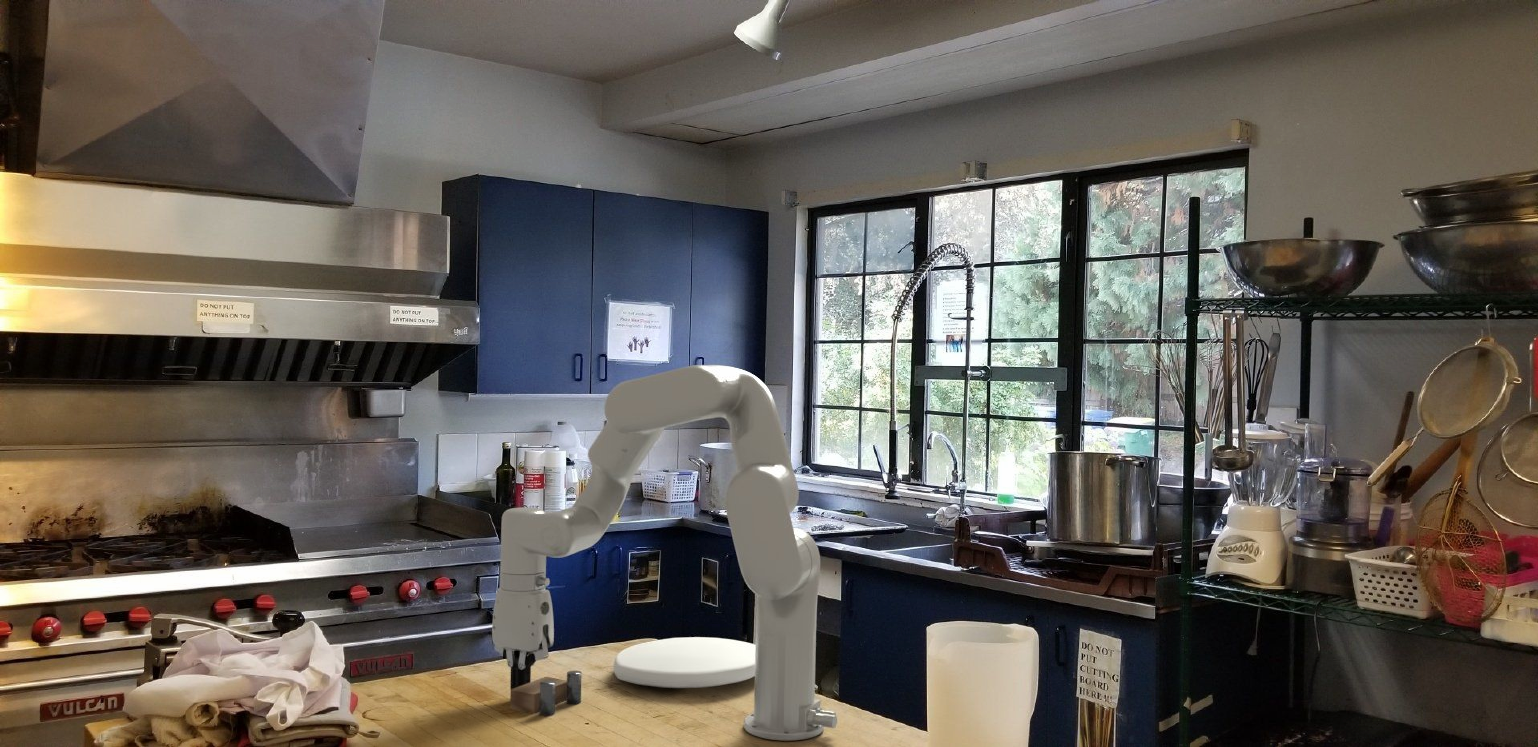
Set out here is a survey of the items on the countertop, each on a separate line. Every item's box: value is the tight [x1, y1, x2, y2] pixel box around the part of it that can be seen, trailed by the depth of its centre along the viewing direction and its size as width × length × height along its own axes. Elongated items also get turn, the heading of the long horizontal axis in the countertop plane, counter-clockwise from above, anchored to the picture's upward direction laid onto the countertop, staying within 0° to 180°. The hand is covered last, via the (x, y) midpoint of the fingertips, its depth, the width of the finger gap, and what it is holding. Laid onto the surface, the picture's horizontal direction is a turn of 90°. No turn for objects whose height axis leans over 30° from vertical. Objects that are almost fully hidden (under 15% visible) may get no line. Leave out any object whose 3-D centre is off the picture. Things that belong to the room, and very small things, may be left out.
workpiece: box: [509, 676, 567, 715], centre depth 183 cm, size 5×9×4 cm, turn 152°
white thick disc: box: [613, 636, 755, 689], centre depth 201 cm, size 28×6×27 cm
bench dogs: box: [539, 670, 582, 717], centre depth 181 cm, size 2×9×5 cm, turn 153°
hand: (520, 689), depth 185 cm, fingers closed
